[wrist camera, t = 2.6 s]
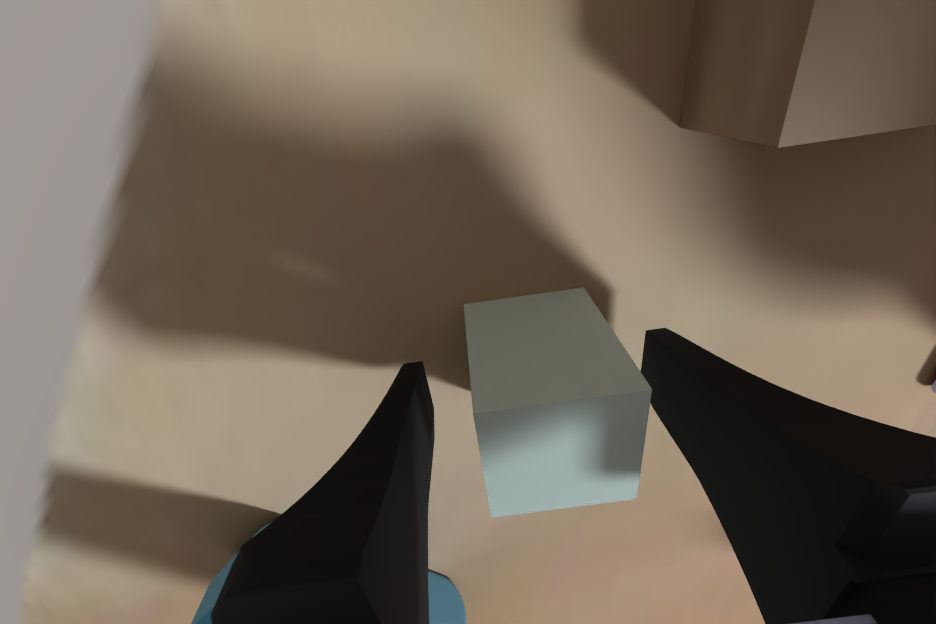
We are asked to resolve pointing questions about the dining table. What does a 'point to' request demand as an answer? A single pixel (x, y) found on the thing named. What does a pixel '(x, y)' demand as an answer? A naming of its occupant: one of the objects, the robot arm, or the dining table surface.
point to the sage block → (554, 403)
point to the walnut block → (810, 69)
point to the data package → (443, 594)
